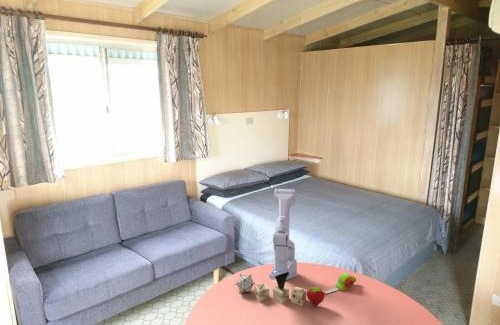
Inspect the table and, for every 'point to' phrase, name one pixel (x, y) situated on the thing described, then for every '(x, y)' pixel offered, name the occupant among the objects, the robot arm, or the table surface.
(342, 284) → the toy measuring tape
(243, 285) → the game die
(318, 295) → the strawberry
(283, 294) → the plain block
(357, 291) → the table surface
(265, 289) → the pip block
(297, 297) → the pip block
